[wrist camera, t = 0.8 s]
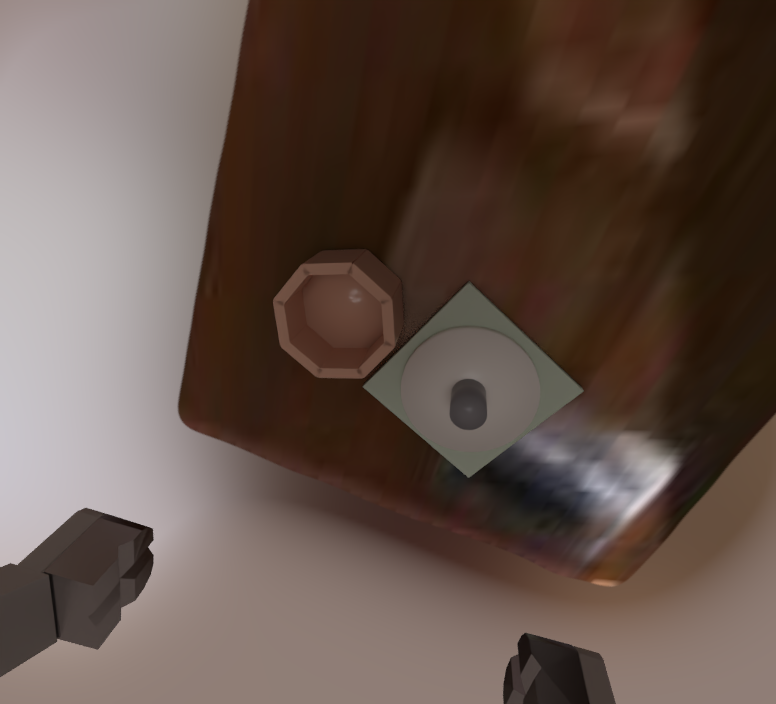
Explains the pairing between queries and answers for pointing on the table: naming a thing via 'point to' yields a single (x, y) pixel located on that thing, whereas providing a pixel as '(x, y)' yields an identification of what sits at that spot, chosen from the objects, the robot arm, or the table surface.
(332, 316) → the bowl
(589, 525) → the table surface
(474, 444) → the lid
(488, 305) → the mat
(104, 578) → the robot arm
